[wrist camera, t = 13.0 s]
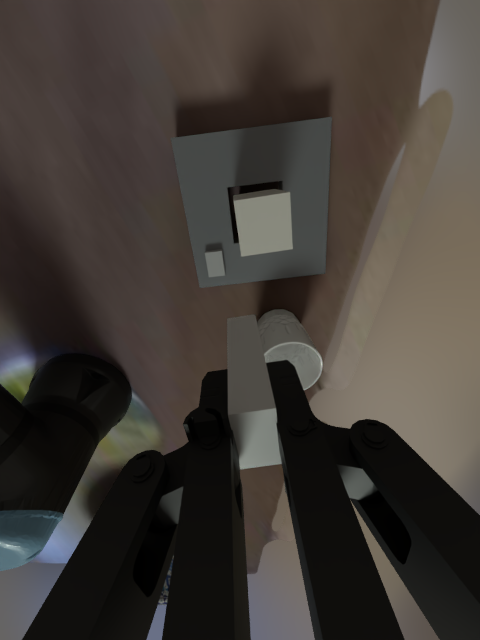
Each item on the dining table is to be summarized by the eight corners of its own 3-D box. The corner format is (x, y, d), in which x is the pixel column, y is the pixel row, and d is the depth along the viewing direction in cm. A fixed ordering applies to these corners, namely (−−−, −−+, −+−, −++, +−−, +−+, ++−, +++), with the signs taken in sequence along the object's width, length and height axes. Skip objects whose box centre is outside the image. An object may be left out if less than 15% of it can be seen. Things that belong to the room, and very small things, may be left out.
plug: (238, 232, 34) (241, 256, 23) (233, 193, 32) (233, 200, 21) (273, 227, 34) (292, 249, 23) (270, 188, 31) (290, 191, 21)
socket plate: (202, 279, 37) (199, 290, 33) (176, 141, 29) (169, 136, 26) (318, 266, 36) (327, 275, 33) (322, 122, 29) (334, 115, 25)
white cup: (246, 311, 39) (250, 349, 30) (299, 299, 38) (319, 335, 29) (257, 354, 43) (263, 399, 34) (306, 343, 42) (325, 387, 33)
